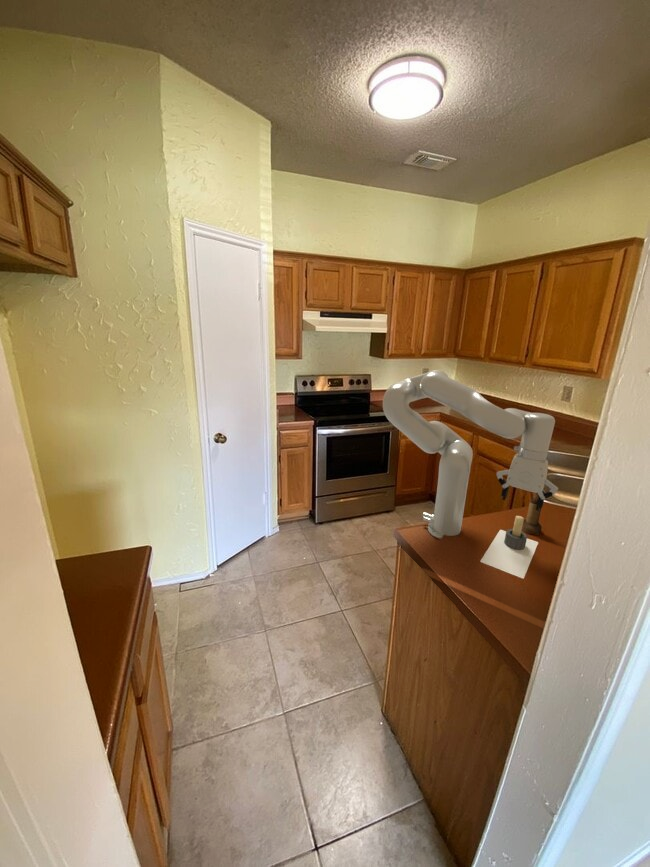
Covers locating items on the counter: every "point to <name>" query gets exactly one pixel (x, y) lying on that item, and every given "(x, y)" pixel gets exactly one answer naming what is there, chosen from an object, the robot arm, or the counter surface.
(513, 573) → the post board
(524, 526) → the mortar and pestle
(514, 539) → the ring
